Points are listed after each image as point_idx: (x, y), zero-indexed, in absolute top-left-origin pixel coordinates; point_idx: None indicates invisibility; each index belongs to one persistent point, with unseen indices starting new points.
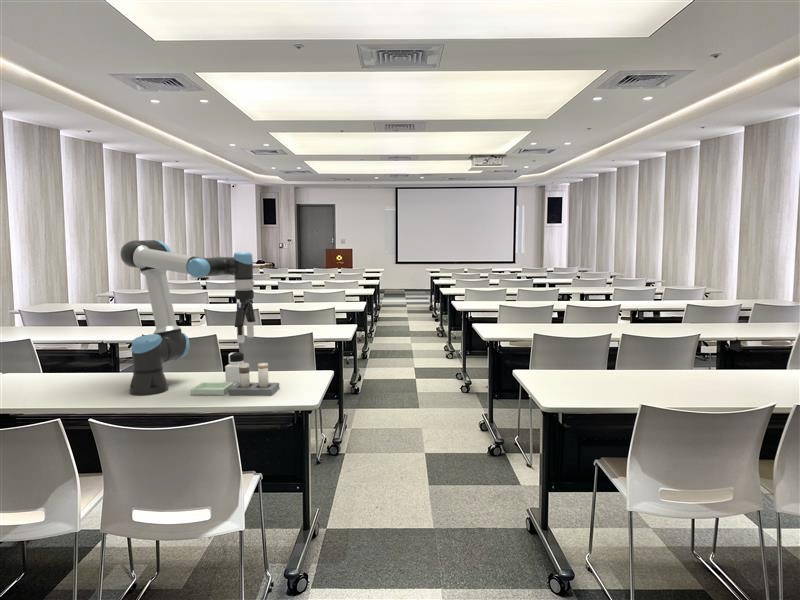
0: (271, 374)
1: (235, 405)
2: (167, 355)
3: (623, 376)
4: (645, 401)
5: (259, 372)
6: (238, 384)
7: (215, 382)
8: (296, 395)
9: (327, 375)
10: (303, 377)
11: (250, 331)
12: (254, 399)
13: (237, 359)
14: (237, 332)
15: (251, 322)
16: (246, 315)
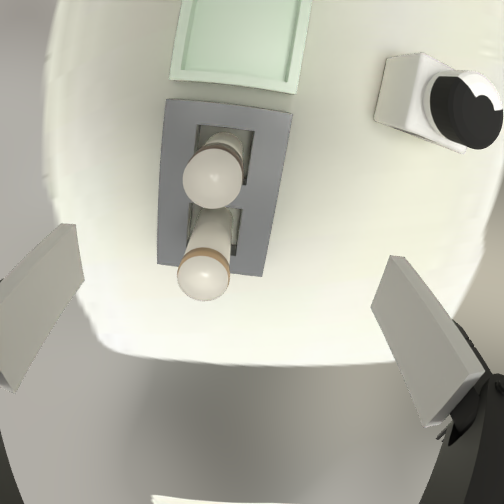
0: (462, 217)
1: (56, 164)
2: None
3: None
4: None
5: (188, 246)
6: (254, 122)
7: (308, 19)
8: (168, 317)
9: (384, 361)
10: None
11: (401, 324)
12: (118, 206)
13: (437, 113)
14: (2, 284)
15: (433, 416)
16: (454, 501)
